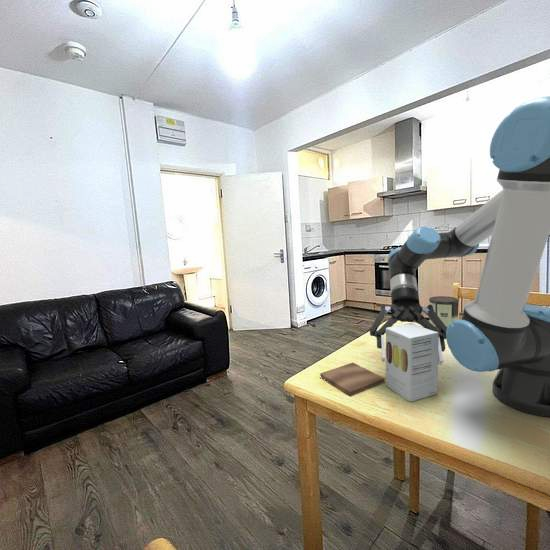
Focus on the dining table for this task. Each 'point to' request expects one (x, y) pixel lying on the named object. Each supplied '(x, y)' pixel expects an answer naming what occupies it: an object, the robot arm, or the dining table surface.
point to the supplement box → (412, 361)
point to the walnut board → (352, 378)
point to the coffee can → (445, 309)
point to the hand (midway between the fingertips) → (411, 361)
